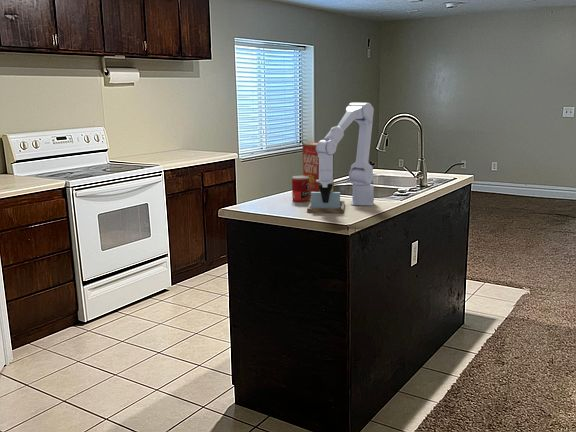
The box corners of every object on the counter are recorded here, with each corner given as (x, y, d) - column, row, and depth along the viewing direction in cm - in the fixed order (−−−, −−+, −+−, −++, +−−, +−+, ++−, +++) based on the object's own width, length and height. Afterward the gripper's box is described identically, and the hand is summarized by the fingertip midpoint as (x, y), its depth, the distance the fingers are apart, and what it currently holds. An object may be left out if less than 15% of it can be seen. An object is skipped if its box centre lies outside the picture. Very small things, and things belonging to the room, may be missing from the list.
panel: (339, 211, 239) (340, 192, 237) (339, 212, 237) (340, 193, 235) (311, 210, 240) (311, 191, 238) (310, 211, 238) (310, 192, 236)
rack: (344, 204, 252) (344, 201, 251) (343, 213, 234) (343, 209, 234) (310, 204, 253) (310, 200, 253) (307, 212, 236) (307, 208, 236)
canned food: (304, 202, 257) (303, 178, 254) (289, 201, 261) (288, 177, 259) (312, 199, 263) (312, 176, 261) (297, 198, 267) (297, 175, 265)
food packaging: (301, 195, 275) (301, 143, 270) (316, 193, 281) (317, 142, 275) (319, 199, 265) (319, 145, 259) (334, 196, 270) (335, 143, 265)
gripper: (317, 167, 242) (317, 198, 245) (314, 171, 228) (314, 205, 231) (334, 167, 241) (333, 198, 244) (332, 171, 227) (332, 205, 230)
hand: (325, 201), depth 238 cm, fingers closed on panel, 2 cm apart
